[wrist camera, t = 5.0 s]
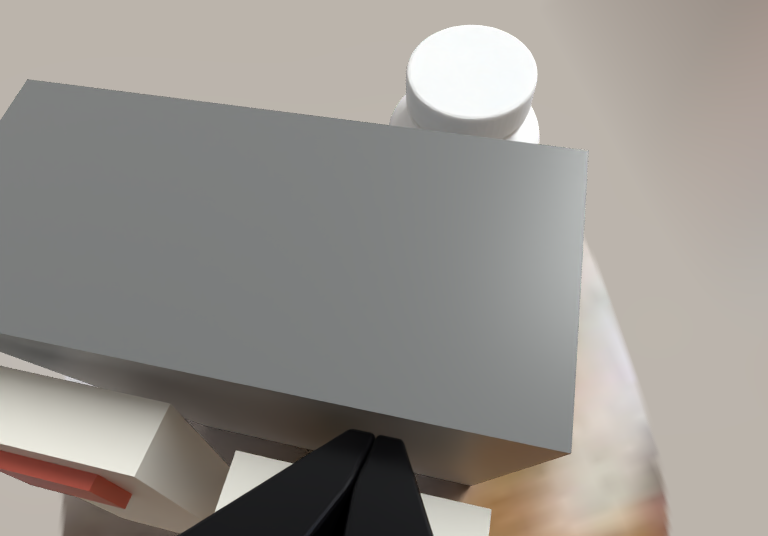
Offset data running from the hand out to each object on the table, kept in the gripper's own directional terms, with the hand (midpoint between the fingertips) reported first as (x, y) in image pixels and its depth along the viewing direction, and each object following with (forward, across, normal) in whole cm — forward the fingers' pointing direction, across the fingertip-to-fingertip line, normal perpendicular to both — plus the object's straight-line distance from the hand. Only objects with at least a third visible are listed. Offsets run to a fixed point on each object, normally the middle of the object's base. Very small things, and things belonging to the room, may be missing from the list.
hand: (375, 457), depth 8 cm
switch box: (+11, -3, -8) cm, 14 cm away
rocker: (+4, -6, -8) cm, 10 cm away
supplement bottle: (+18, 0, -2) cm, 18 cm away
